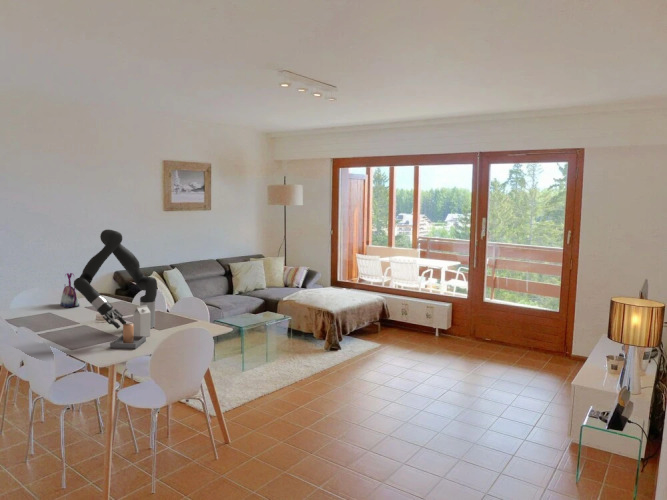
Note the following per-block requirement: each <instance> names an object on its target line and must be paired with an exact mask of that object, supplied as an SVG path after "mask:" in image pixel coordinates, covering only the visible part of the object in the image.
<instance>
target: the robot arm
mask: <svg viewBox="0 0 667 500" xmlns="http://www.w3.org/2000/svg"><path fill="white" fill-rule="evenodd" d="M99 237H100V240H101V243H102V244H104V246H103V248H102V249H101V250H99V252H97V253H96V254H94V255H93V256H92V257H91V258H90V259H89V261H88V262H87V263H86V265H85V266H84V268H83V269H82V272H81V275H80V276H79V277H77V278H75V279H74V280H73V288H74V287H75V291H78V292H79V293H80V294H81V295H82V296H83V297H84V298H85V300H86V301H88V302H89V304H91V306H92V307H93V309H95V310H96V311H97V312H98V313H99V314H100V315H101V316H102V318H103V319H104V320H105V321H106V322H107V324H108V325H113V326H114V327H115V328H116V329H120V327H121V325H120V324H119V323H118V322H117V321H116V320H118V321H119V322H120V323H121V324H122V325H123V324H127V321H126V320H125V319H124V318H123V316H124V315H123V314H122V313H121V312H120V311H119V310H118V309H116V308H115V309H113V308H114V306H113V305H112V304H111V302H109V301H108V299H106V298H105V297H104V296H103V295H102V294H101V293H99V291H98V290H97V289H95V288H94V286H92V285H91V283H92V281H93V278H94V277H95V276H96V274H97V273H98V272H99V270H100V268H101V267H102V265H103V264H104V263H105V261H107V259H108V258H109V257H110V256H111V255H112V254H113V255H114V257H115V258H116V259H117V261H118V262H119V264H121V266H122V267H123V269H125V271H126V272H127V274H129V276H130V277H131V278H132V279H133V282H134V283H135V286H137V288H138V289H139V290H140V291H144V292H145V294H144V295H142V296H140V298H139V306H143V305H147V307H148V309H149V310H150V312H151V322H150V329H153V327H154V328H155V327H156V298H157V292H158V282H157V279H156V278H155V277H152V276H146V275H145V274H144V273H143V272H142V271H141V268H140V262H139V260H138V258H137V257H136V256H135V254H134V253H132V251H130V250H129V249H128V248H127V247H125V246H124V245H123V244H122V241H123V234H122V233H121V232H119V231H116V230H113V229H104V230H102V231H101V233H100V236H99Z"/></svg>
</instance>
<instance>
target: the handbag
mask: <svg viewBox="0 0 667 500" xmlns="http://www.w3.org/2000/svg"><path fill="white" fill-rule="evenodd" d="M72 276H73V277H75V274H74V273H73V272H70V273H66V274H65V275H64V277H67V278H68V285H67V286H66V285H65V286H64V288H63V291H62V293H61V294H62V295H61V299H60V306H61V307H64V308H65V309H68V308H72V307H80V302H79V298H78V294H77V292H76V288H75V287H74V286H72V281H71V279H72Z"/></svg>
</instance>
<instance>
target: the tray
mask: <svg viewBox="0 0 667 500" xmlns="http://www.w3.org/2000/svg"><path fill="white" fill-rule="evenodd" d="M146 341H147V337H146V336H134V343H133V344H132V343H123V334H122V335H121V336H118V337H117V338H115V339H114V340H113V341H111V342H110V343H109V345H110V346H109V348H110V349H116V350H118V349H119V350H124V349H125V350H137V349H139V347H140V346H141V345H143V344H144V343H146Z"/></svg>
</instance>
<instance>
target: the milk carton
mask: <svg viewBox="0 0 667 500" xmlns="http://www.w3.org/2000/svg"><path fill="white" fill-rule="evenodd" d="M132 313H133V314H132V315H133V318H132V322H133V323H132V324H134V336H146V338H147V337H151V328H150V322H151V312H150V310H149V309H148V307H147V305H143V306H140V305H138V306H136V309H135V310H133V312H132Z"/></svg>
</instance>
